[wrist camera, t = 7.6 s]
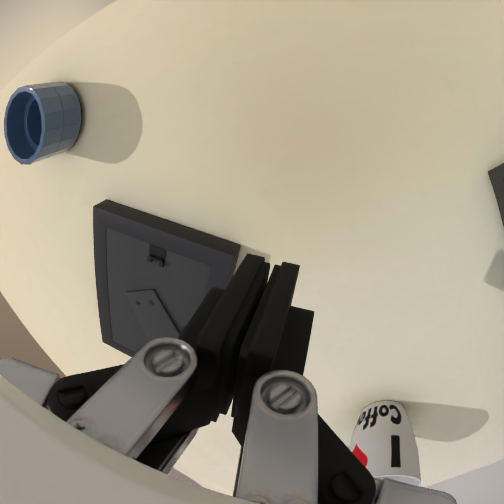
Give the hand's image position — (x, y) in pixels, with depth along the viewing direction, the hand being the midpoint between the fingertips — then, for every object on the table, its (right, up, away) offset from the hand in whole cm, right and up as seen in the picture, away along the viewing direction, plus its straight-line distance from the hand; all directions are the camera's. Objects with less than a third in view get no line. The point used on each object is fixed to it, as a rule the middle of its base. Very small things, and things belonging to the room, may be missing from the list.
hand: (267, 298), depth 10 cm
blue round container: (-19, +14, +14) cm, 27 cm away
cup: (+14, -17, +20) cm, 30 cm away
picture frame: (-10, -3, +20) cm, 22 cm away
